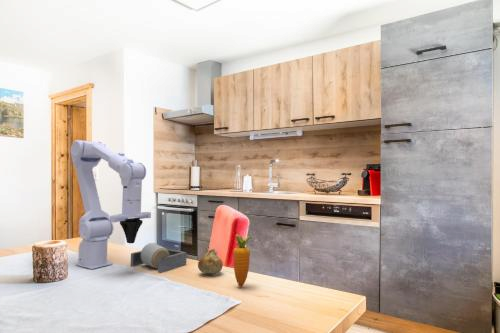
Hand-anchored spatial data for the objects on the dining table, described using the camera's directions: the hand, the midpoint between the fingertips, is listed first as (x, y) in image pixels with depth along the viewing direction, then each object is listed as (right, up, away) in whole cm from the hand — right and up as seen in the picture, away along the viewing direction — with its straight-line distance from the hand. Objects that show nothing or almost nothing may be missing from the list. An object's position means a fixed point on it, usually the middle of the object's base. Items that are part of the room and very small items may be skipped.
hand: (130, 242), depth 107 cm
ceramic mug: (+6, -11, +10) cm, 16 cm away
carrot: (+36, -10, -11) cm, 39 cm away
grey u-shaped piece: (+6, -10, +10) cm, 15 cm away
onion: (+25, -11, +1) cm, 27 cm away
